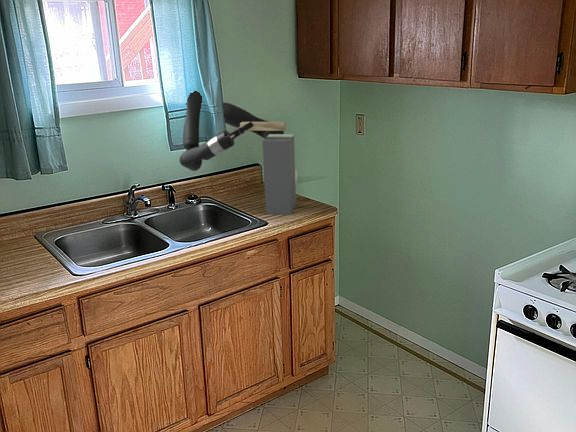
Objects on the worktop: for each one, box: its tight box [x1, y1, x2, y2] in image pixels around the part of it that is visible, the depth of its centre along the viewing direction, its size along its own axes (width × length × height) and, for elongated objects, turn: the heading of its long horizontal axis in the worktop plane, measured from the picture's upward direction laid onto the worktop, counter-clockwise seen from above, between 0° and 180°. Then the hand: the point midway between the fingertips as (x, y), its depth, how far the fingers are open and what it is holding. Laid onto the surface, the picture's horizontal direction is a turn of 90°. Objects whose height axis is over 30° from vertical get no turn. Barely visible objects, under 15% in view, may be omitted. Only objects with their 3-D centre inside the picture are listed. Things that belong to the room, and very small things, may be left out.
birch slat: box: [240, 121, 287, 132], centre depth 249 cm, size 4×19×3 cm, turn 80°
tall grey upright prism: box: [262, 133, 297, 215], centre depth 257 cm, size 14×11×32 cm
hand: (253, 122), depth 249 cm, fingers closed on birch slat, 4 cm apart
